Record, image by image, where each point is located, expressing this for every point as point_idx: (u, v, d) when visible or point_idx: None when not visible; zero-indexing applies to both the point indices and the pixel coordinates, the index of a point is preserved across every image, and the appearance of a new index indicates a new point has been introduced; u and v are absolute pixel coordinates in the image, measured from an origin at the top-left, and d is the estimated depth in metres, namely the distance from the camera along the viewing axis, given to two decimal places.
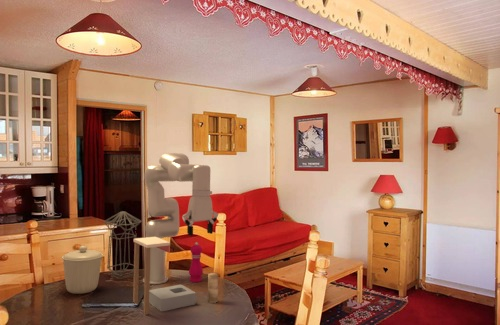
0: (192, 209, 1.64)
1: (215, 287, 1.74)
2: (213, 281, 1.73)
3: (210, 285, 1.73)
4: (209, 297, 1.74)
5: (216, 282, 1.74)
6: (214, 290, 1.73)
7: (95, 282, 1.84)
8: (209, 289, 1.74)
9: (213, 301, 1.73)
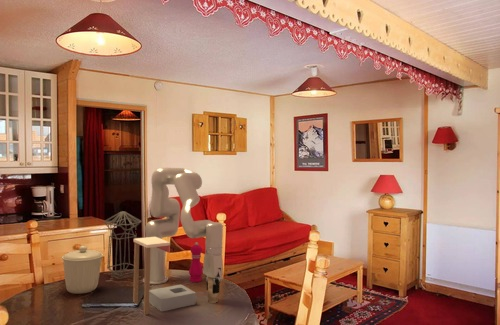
0: (221, 266, 1.72)
1: None
2: None
3: (210, 285, 1.73)
4: (209, 297, 1.74)
5: None
6: None
7: (95, 282, 1.84)
8: (209, 289, 1.74)
9: (213, 301, 1.73)
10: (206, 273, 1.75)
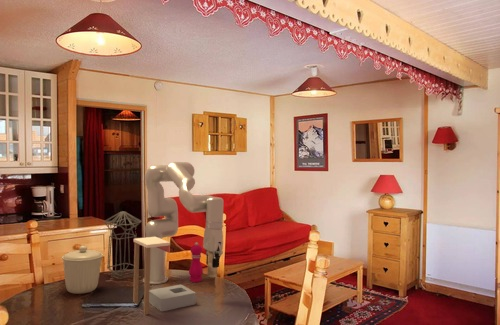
0: (222, 240, 1.73)
1: None
2: None
3: (210, 259, 1.74)
4: (209, 271, 1.74)
5: None
6: None
7: (95, 282, 1.84)
8: (209, 263, 1.74)
9: (213, 275, 1.74)
10: (206, 247, 1.75)
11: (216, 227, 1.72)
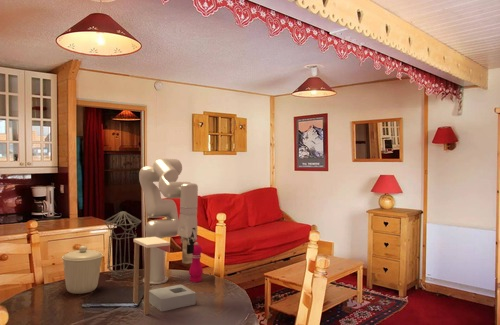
0: (196, 226, 1.72)
1: None
2: (187, 242, 1.72)
3: (184, 245, 1.73)
4: (183, 257, 1.73)
5: None
6: None
7: (95, 282, 1.84)
8: (183, 249, 1.73)
9: (187, 261, 1.73)
10: (181, 234, 1.74)
11: (190, 213, 1.71)
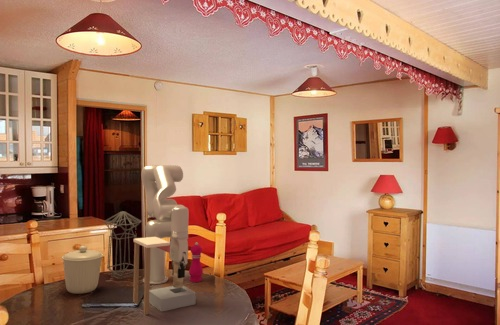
0: (186, 250, 1.71)
1: None
2: (178, 266, 1.72)
3: (175, 269, 1.72)
4: (174, 282, 1.72)
5: None
6: None
7: (95, 282, 1.84)
8: (174, 273, 1.72)
9: (178, 286, 1.72)
10: (171, 258, 1.73)
11: (181, 237, 1.71)
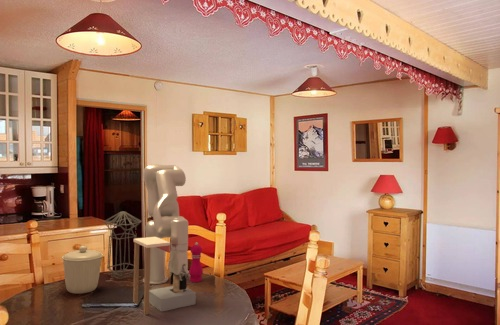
0: (186, 262, 1.71)
1: None
2: (178, 281, 1.72)
3: (175, 285, 1.72)
4: None
5: None
6: (179, 290, 1.72)
7: (95, 282, 1.84)
8: (174, 289, 1.72)
9: None
10: (171, 270, 1.73)
11: (180, 249, 1.71)
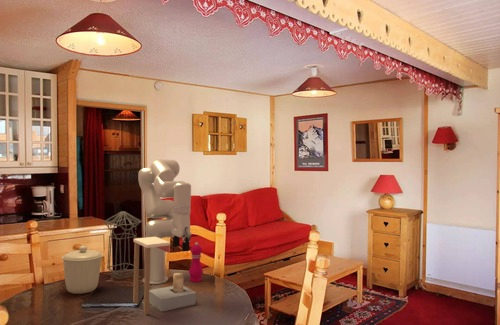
0: (189, 225, 1.73)
1: (180, 287, 1.72)
2: (178, 281, 1.72)
3: (175, 285, 1.72)
4: None
5: (181, 282, 1.73)
6: (179, 290, 1.72)
7: (95, 282, 1.84)
8: (174, 289, 1.72)
9: None
10: (174, 233, 1.75)
11: (183, 212, 1.72)
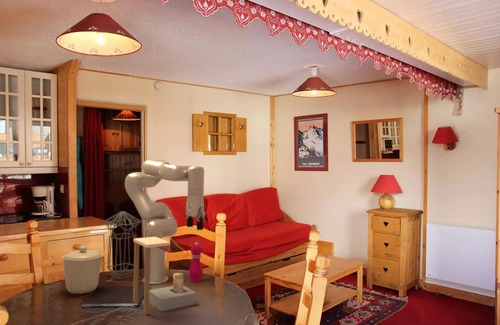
0: (202, 206, 1.85)
1: (180, 287, 1.72)
2: (178, 281, 1.72)
3: (175, 285, 1.72)
4: None
5: (181, 282, 1.73)
6: (179, 290, 1.72)
7: (95, 282, 1.84)
8: (174, 289, 1.72)
9: None
10: (188, 213, 1.87)
11: (197, 193, 1.84)
